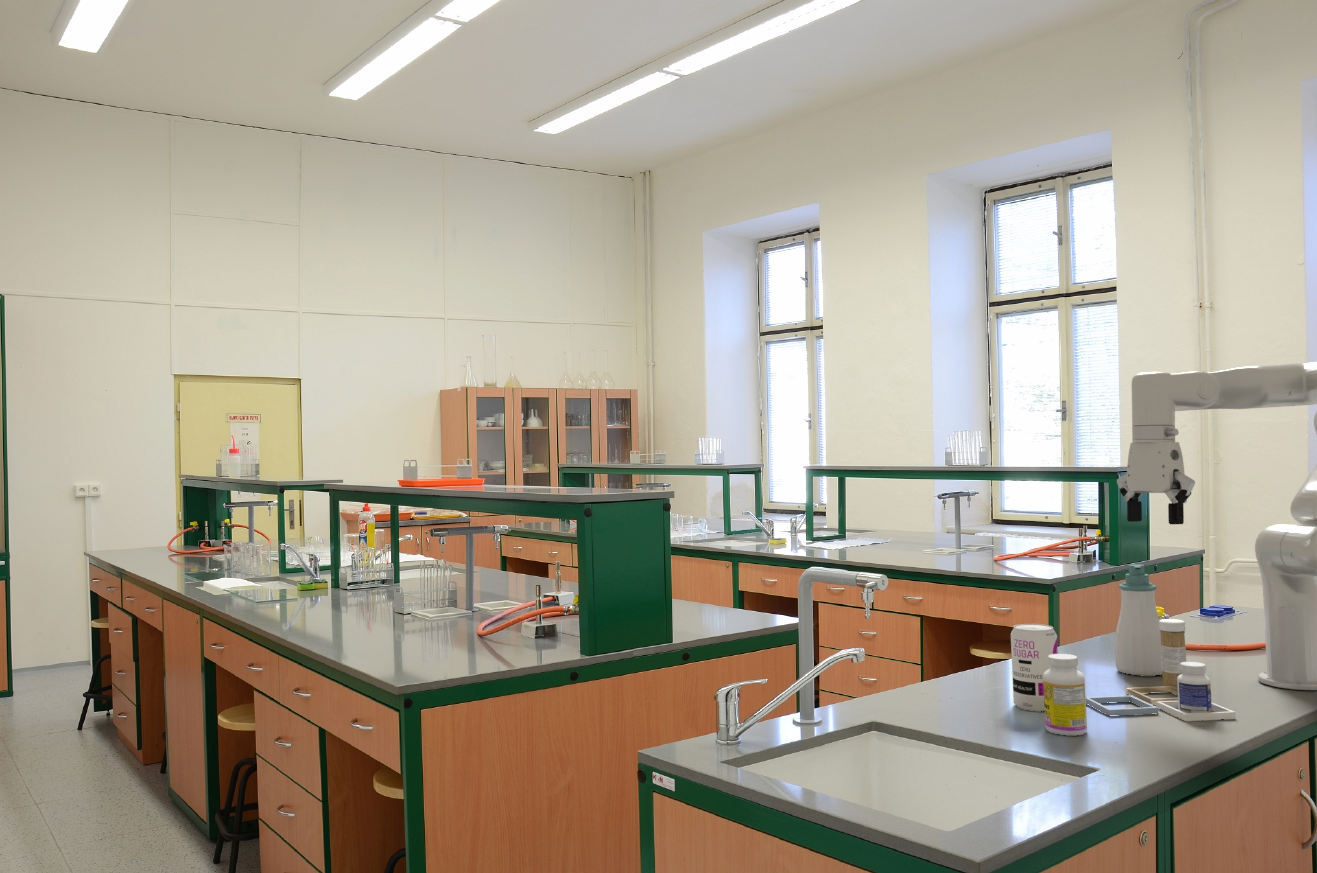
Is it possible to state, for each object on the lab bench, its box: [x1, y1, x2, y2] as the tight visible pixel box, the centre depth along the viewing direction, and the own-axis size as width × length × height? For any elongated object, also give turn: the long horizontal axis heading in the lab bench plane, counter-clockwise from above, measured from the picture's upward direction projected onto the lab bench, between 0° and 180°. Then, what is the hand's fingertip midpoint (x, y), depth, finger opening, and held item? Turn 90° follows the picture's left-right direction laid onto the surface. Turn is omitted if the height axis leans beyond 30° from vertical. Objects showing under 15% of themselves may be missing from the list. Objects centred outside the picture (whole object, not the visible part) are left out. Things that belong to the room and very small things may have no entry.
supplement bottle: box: [1043, 653, 1088, 737], centre depth 164 cm, size 7×7×13 cm
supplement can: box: [1010, 623, 1059, 713], centre depth 180 cm, size 8×8×15 cm
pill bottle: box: [1177, 661, 1213, 714], centre depth 172 cm, size 5×5×9 cm
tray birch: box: [1125, 685, 1178, 705], centre depth 183 cm, size 9×9×1 cm
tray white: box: [1156, 701, 1236, 722], centre depth 172 cm, size 9×9×1 cm
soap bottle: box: [1114, 563, 1163, 677], centre depth 205 cm, size 10×10×23 cm
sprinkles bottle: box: [1159, 618, 1187, 689], centre depth 191 cm, size 5×5×14 cm
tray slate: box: [1086, 695, 1159, 717], centre depth 177 cm, size 9×9×1 cm
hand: (1154, 522), depth 188 cm, fingers open, 9 cm apart
